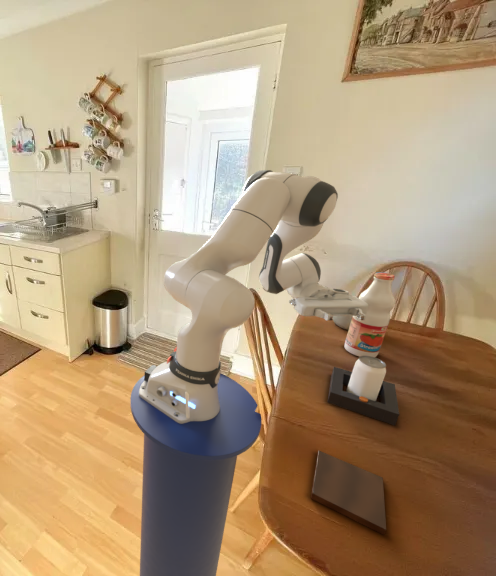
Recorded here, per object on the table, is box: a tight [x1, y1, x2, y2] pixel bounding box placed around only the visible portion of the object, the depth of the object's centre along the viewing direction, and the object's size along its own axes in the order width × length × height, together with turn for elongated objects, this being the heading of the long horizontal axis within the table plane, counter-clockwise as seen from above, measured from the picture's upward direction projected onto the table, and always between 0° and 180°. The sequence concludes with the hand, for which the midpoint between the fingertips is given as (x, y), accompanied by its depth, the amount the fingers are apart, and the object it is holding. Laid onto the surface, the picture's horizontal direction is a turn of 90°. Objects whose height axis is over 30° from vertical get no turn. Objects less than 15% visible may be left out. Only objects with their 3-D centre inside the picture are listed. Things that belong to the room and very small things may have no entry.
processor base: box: [327, 366, 400, 426], centre depth 85 cm, size 14×14×4 cm
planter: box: [332, 296, 359, 331], centre depth 122 cm, size 12×12×11 cm
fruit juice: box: [344, 271, 396, 358], centre depth 102 cm, size 9×9×28 cm
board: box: [310, 450, 387, 536], centre depth 61 cm, size 11×12×2 cm
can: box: [345, 356, 387, 402], centre depth 84 cm, size 6×6×12 cm
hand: (346, 318), depth 91 cm, fingers open, 8 cm apart
